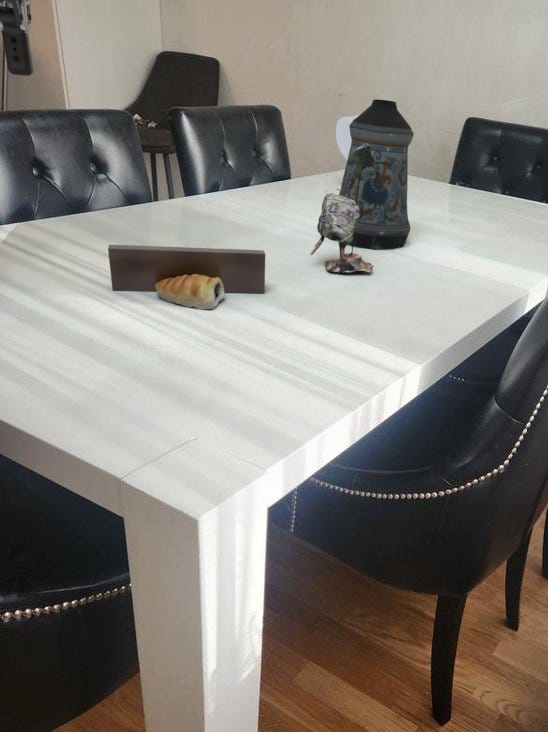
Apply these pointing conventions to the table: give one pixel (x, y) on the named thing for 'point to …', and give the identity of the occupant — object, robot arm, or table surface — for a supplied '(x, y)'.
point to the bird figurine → (344, 220)
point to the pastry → (192, 291)
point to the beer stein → (380, 177)
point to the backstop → (185, 267)
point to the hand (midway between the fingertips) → (21, 74)
